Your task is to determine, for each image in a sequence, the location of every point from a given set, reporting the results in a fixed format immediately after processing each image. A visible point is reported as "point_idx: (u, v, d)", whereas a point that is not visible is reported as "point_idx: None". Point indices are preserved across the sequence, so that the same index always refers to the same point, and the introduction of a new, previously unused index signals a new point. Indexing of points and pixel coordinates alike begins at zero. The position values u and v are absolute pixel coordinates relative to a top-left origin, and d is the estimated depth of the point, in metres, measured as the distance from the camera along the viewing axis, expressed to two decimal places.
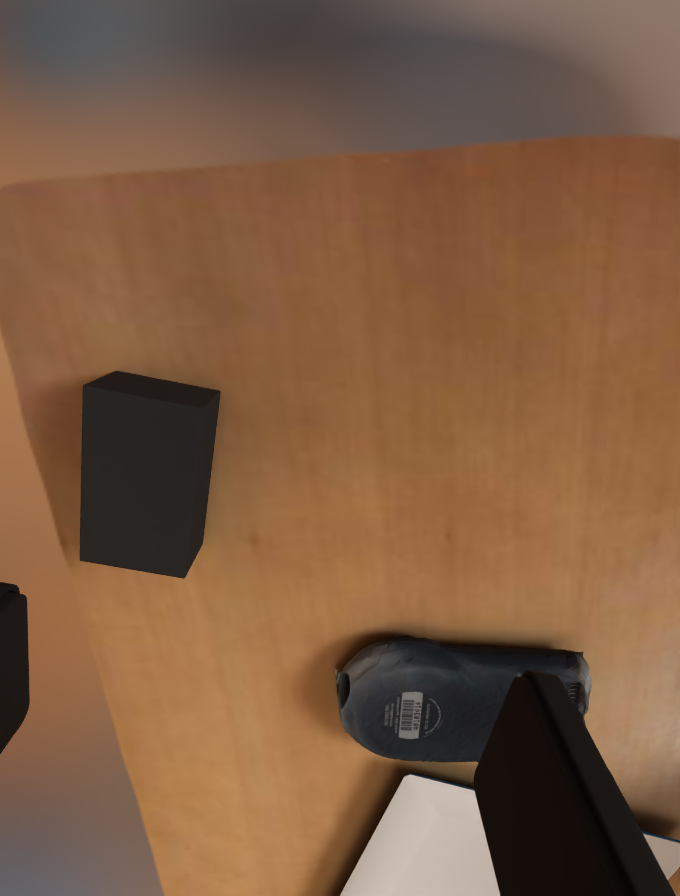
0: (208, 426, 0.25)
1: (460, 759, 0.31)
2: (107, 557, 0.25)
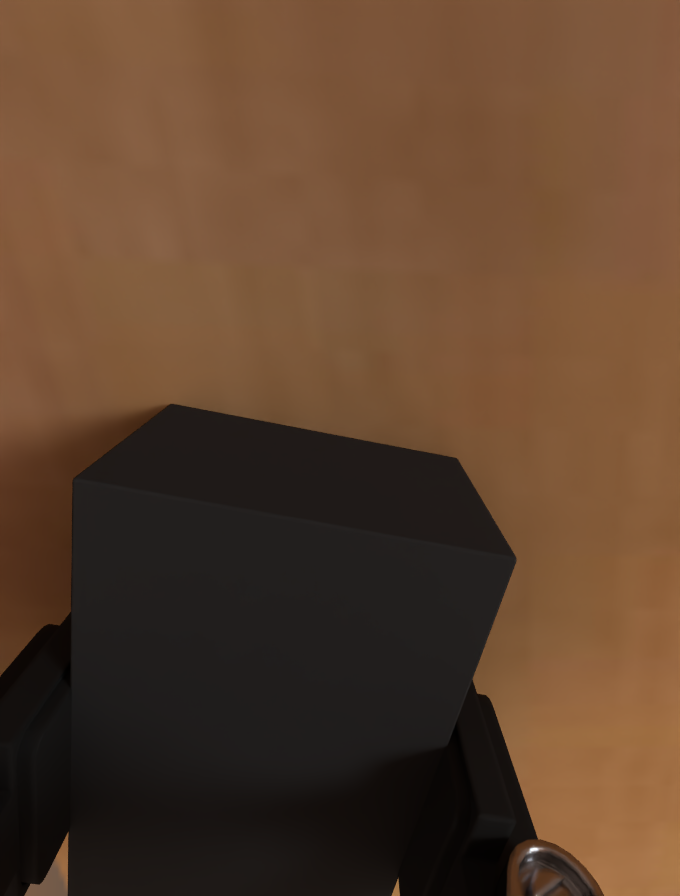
0: None
1: None
2: None
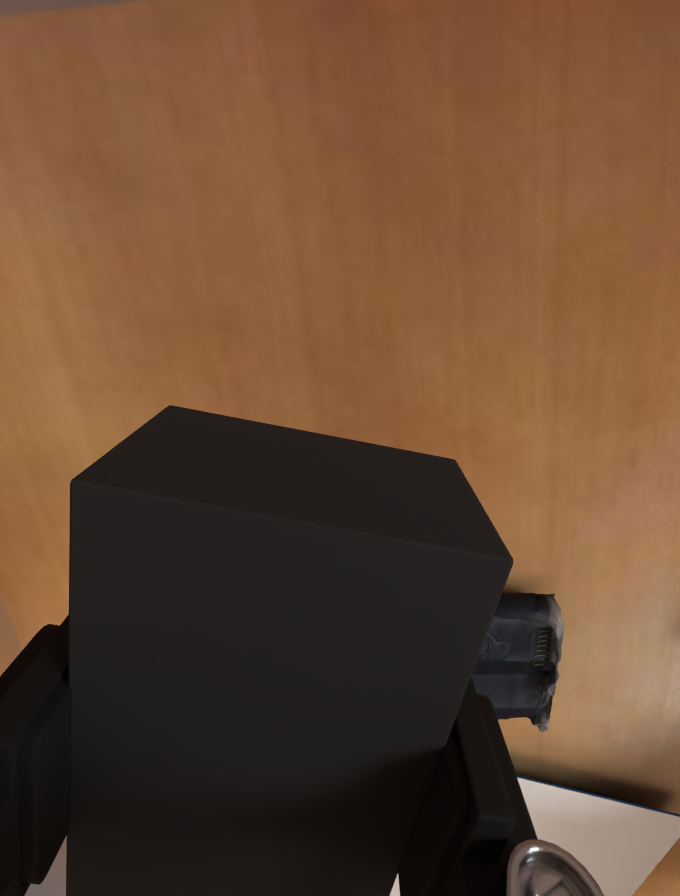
0: None
1: None
2: None
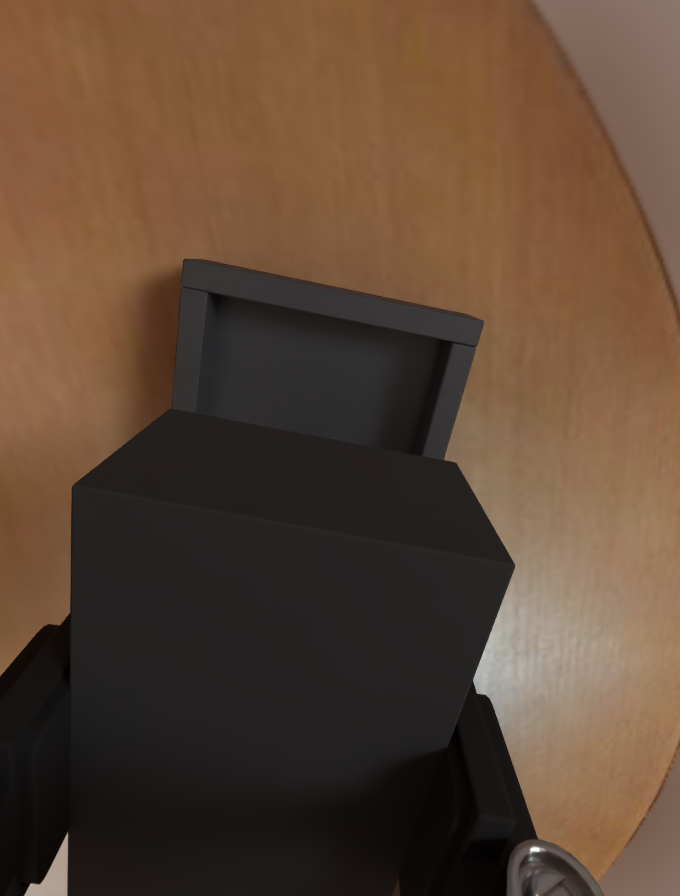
0: None
1: None
2: None
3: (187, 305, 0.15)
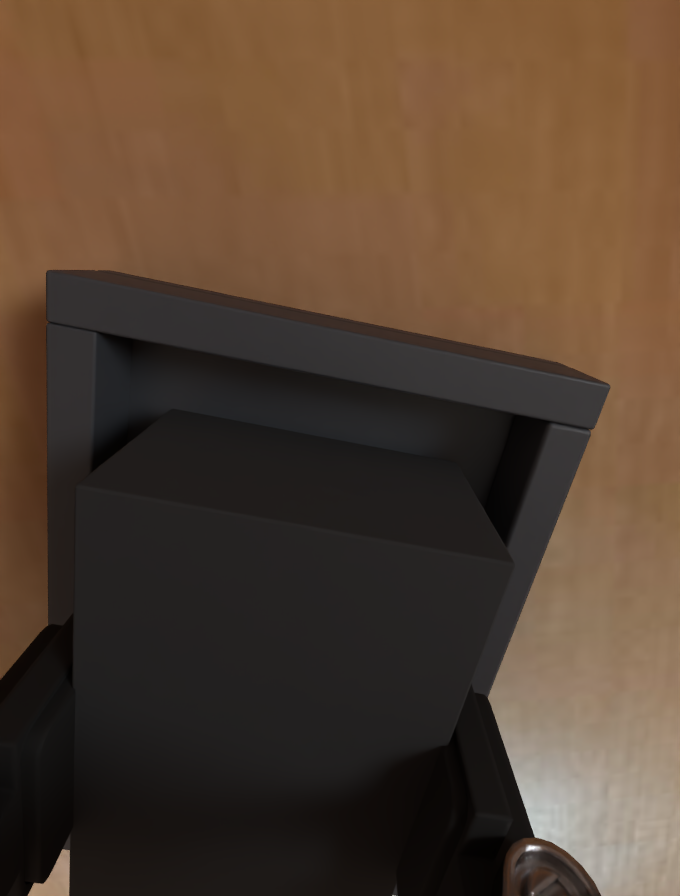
0: None
1: None
2: None
3: (60, 356, 0.08)
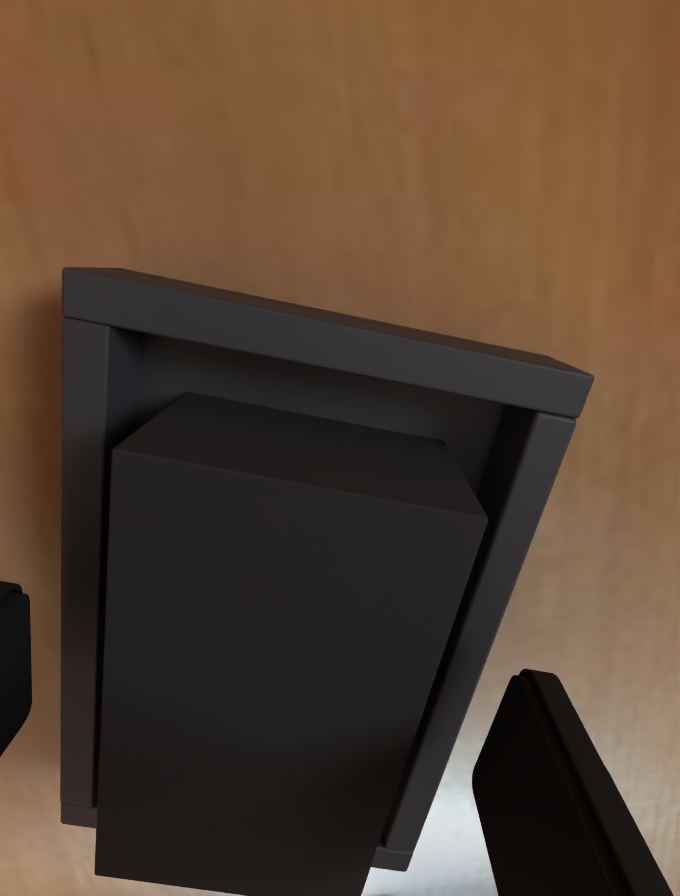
0: None
1: None
2: (166, 869, 0.10)
3: (75, 348, 0.08)
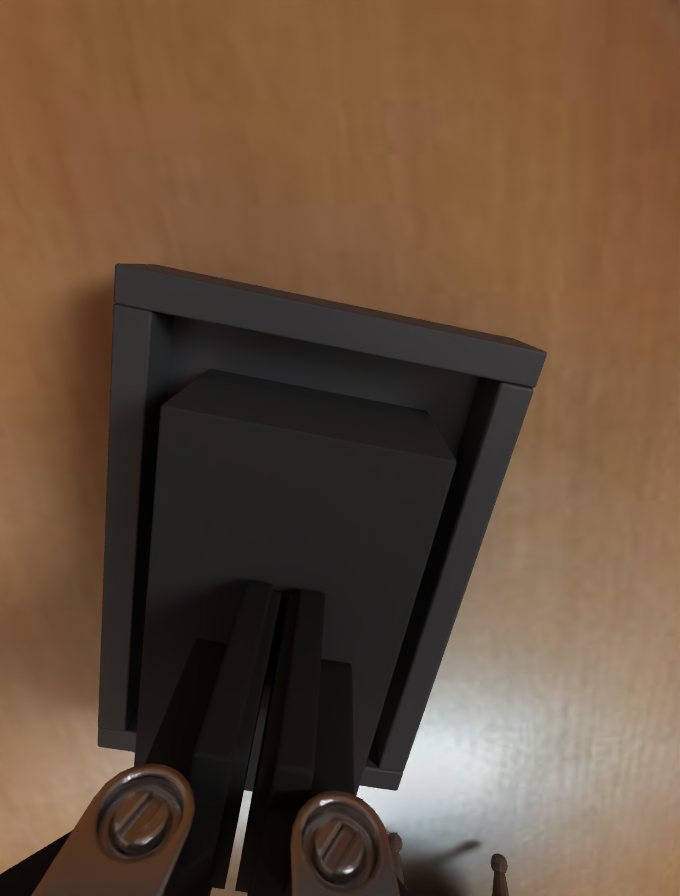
0: None
1: None
2: None
3: (123, 330, 0.10)
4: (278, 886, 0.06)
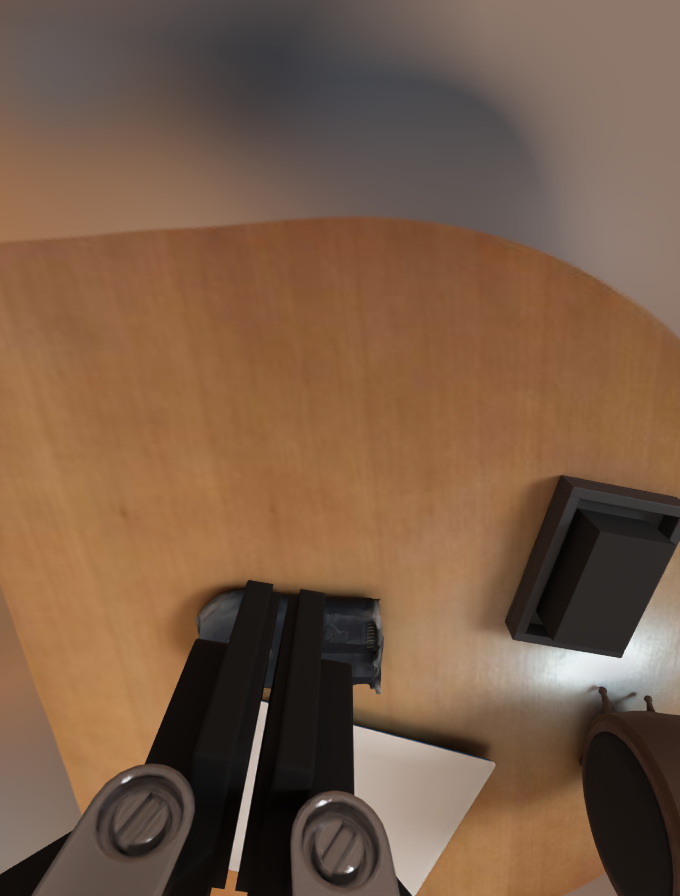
0: None
1: None
2: (574, 639, 0.36)
3: (570, 503, 0.35)
4: (278, 886, 0.06)
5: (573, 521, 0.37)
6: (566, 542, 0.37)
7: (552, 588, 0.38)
